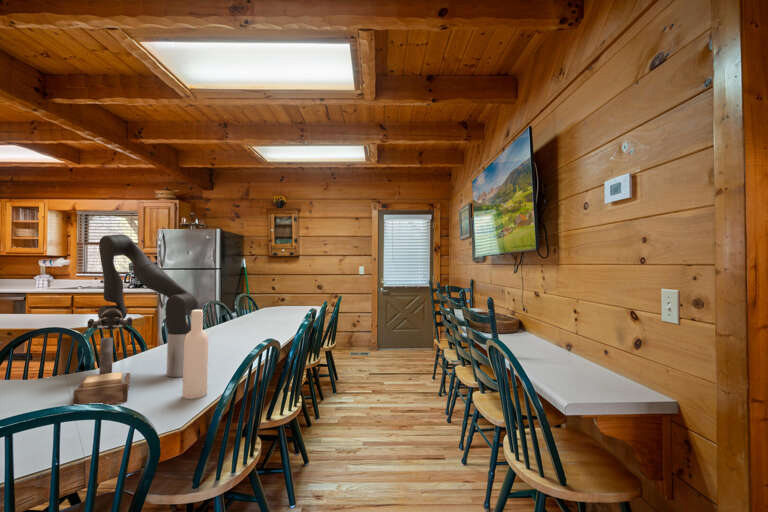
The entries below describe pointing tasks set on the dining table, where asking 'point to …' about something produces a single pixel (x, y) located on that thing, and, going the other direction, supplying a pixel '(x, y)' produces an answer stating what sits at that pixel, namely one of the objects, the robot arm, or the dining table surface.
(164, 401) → the dining table surface
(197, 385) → the bottle
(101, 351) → the wooden block with post
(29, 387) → the dining table surface
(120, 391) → the bay
